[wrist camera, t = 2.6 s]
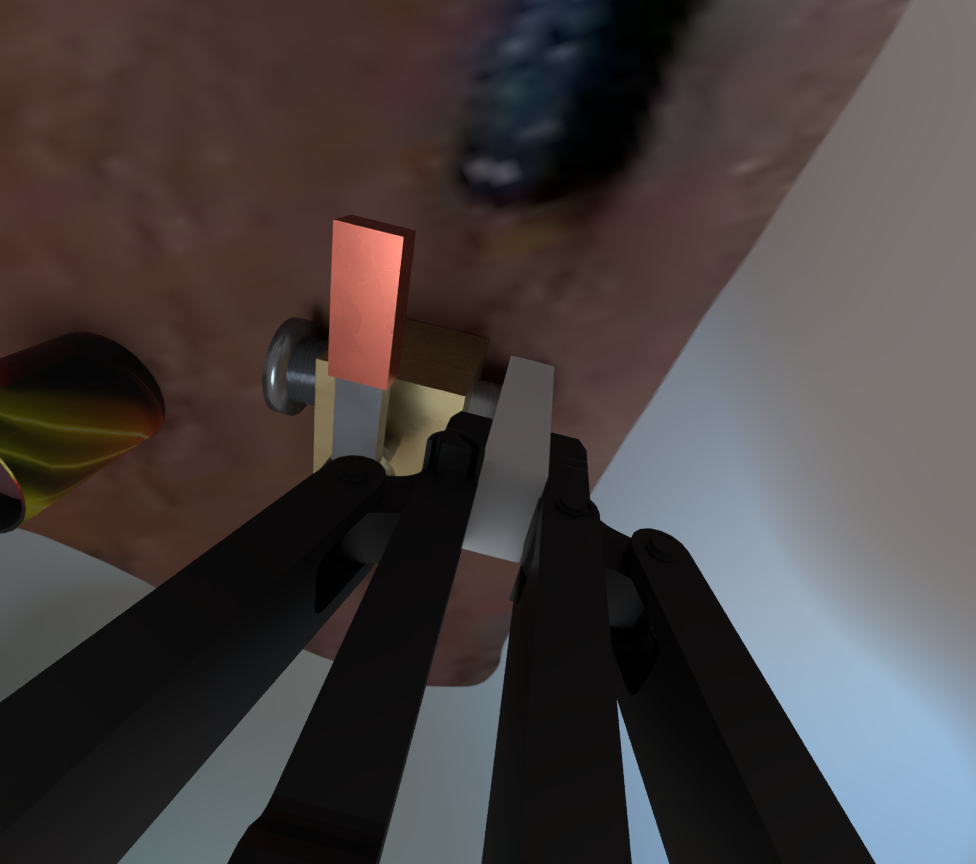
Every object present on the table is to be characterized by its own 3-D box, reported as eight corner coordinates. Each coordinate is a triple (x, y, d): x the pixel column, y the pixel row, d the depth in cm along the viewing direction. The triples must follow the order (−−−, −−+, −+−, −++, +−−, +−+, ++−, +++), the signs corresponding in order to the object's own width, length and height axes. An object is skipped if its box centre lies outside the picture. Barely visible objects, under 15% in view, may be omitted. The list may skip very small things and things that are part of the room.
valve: (309, 396, 37) (241, 461, 29) (310, 294, 33) (232, 337, 25) (524, 451, 37) (514, 531, 29) (553, 355, 33) (549, 417, 25)
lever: (409, 477, 28) (382, 532, 24) (348, 462, 28) (311, 514, 24) (447, 223, 21) (418, 240, 17) (366, 203, 21) (317, 215, 17)
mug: (46, 440, 43) (-117, 529, 33) (51, 308, 36) (-153, 369, 26) (150, 489, 45) (25, 591, 34) (173, 371, 38) (26, 454, 27)
